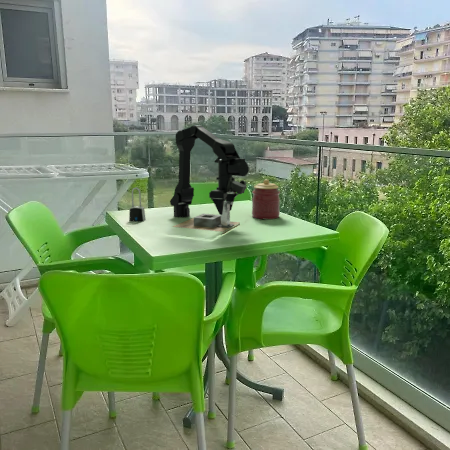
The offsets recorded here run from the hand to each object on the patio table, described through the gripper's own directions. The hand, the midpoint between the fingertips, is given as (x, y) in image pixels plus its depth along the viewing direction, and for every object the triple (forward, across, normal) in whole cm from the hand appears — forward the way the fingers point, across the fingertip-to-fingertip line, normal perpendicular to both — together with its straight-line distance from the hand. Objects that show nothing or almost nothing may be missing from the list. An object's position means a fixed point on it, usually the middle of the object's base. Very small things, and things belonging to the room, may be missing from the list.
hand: (225, 212), depth 171 cm
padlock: (+7, -1, +43) cm, 44 cm away
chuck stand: (+7, 0, +8) cm, 11 cm away
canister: (+7, +29, -8) cm, 31 cm away
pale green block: (+5, 0, 0) cm, 5 cm away
